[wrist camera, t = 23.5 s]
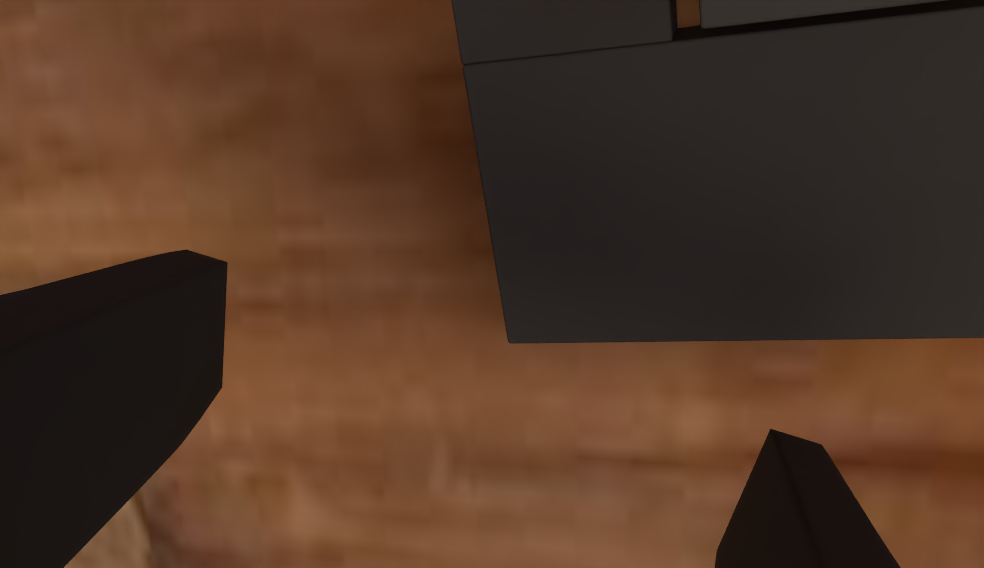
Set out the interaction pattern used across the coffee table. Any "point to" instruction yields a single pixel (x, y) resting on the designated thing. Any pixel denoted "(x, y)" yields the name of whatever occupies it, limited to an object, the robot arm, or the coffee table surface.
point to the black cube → (783, 9)
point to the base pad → (729, 171)
